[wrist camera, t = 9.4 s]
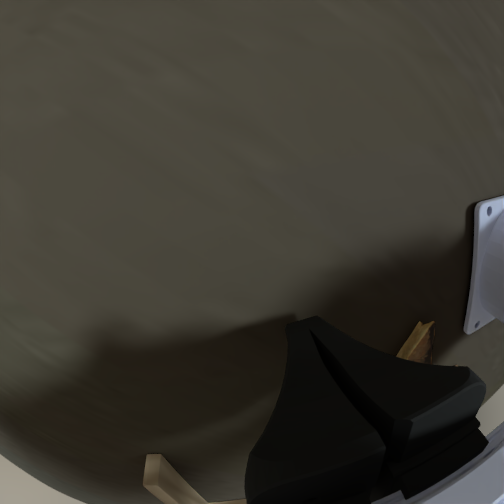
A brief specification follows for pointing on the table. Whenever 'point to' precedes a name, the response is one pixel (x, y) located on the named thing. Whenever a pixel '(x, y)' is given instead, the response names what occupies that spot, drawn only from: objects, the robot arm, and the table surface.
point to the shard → (419, 344)
